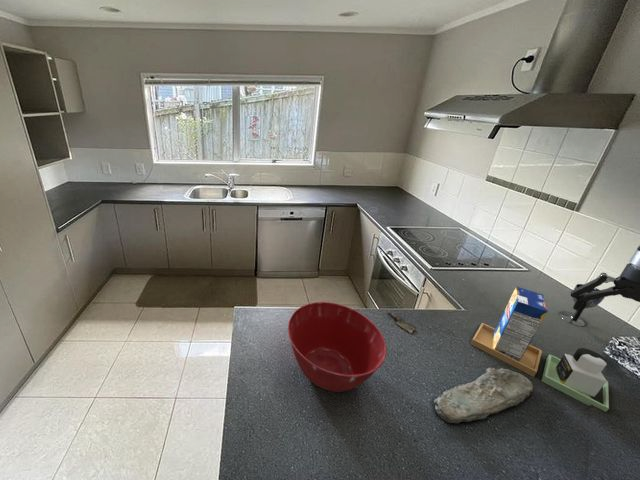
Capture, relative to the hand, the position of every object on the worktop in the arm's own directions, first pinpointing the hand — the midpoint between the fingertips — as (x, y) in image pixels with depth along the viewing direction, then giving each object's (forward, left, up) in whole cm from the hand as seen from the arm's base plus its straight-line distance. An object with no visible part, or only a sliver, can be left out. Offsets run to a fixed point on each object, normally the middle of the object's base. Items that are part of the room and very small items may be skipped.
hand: (608, 332), depth 80 cm
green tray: (0, +2, -20) cm, 20 cm away
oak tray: (+17, +2, -20) cm, 27 cm away
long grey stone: (+18, +31, -21) cm, 41 cm away
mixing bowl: (+52, +58, -21) cm, 81 cm away
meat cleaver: (+47, +18, -20) cm, 54 cm away
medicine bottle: (0, +2, -20) cm, 20 cm away
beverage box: (+17, +2, -20) cm, 26 cm away
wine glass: (+2, -41, -21) cm, 46 cm away
